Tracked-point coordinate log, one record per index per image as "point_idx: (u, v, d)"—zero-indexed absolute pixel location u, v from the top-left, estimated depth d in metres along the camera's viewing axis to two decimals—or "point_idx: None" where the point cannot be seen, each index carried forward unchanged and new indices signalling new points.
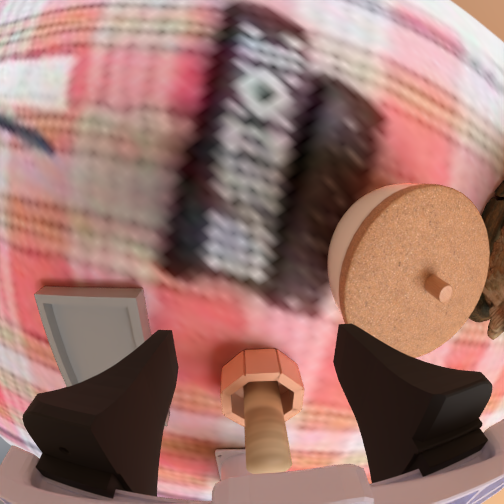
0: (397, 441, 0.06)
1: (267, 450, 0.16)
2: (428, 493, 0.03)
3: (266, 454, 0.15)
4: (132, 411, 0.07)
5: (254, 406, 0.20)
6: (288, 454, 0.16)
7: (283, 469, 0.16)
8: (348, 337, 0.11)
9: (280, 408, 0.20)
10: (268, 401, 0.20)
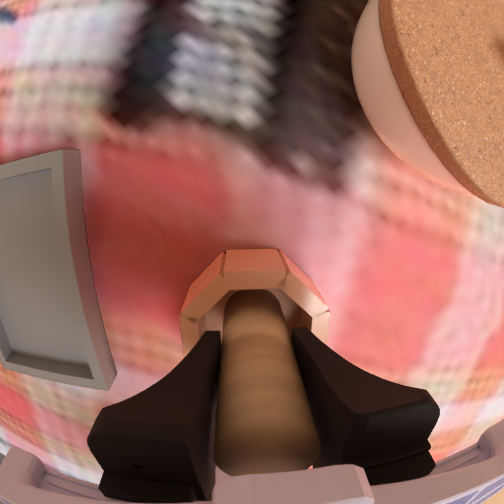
0: (331, 456, 0.06)
1: (263, 416, 0.07)
2: (428, 493, 0.03)
3: (260, 426, 0.06)
4: (203, 416, 0.07)
5: (238, 335, 0.11)
6: (313, 428, 0.07)
7: (299, 465, 0.07)
8: (297, 341, 0.11)
9: (289, 342, 0.11)
10: (266, 326, 0.11)
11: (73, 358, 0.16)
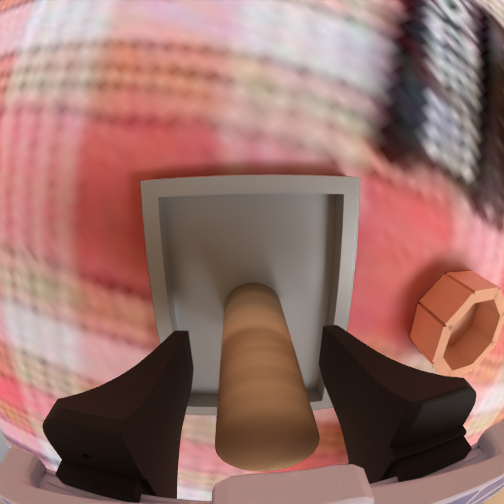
0: (376, 447, 0.06)
1: (261, 405, 0.07)
2: (428, 493, 0.03)
3: (259, 415, 0.07)
4: (155, 413, 0.07)
5: (238, 329, 0.11)
6: (311, 417, 0.07)
7: (300, 454, 0.07)
8: (331, 339, 0.11)
9: (287, 335, 0.12)
10: (264, 320, 0.12)
11: None
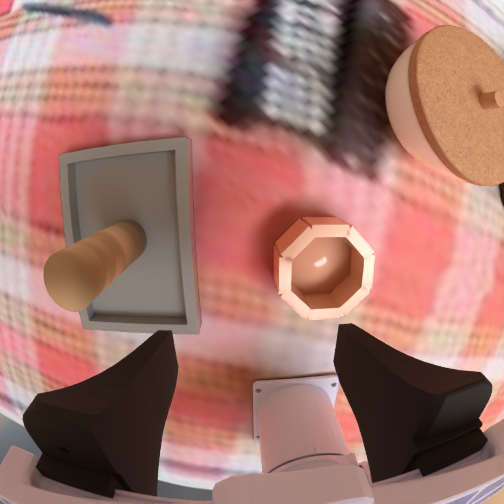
0: (397, 441, 0.06)
1: (63, 250, 0.12)
2: (428, 493, 0.03)
3: (58, 252, 0.12)
4: (132, 411, 0.07)
5: None
6: (88, 263, 0.12)
7: (86, 295, 0.12)
8: (348, 337, 0.11)
9: (121, 240, 0.16)
10: (108, 230, 0.17)
11: (164, 310, 0.22)
